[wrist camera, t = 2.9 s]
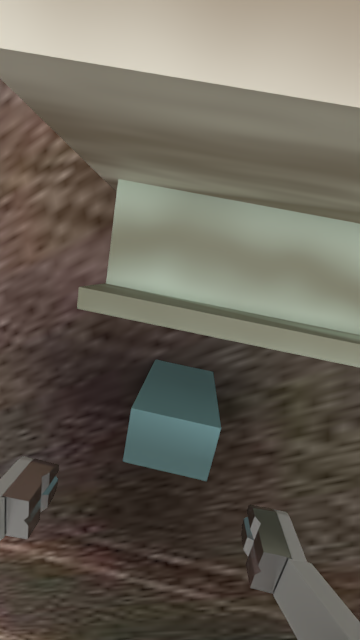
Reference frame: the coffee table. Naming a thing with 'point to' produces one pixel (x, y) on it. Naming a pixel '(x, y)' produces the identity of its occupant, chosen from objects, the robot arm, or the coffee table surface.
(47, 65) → the wall shelf
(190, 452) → the teal rectangular block
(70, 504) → the coffee table surface
